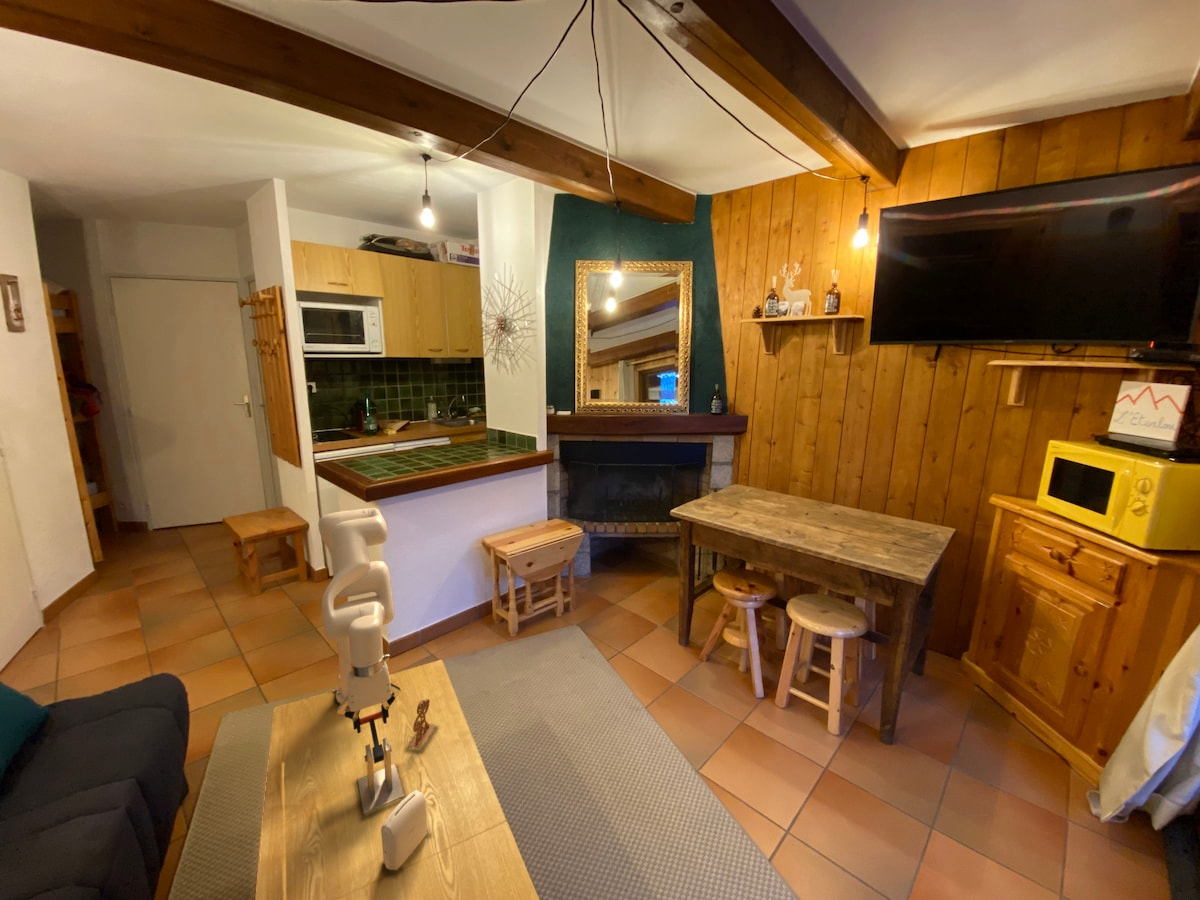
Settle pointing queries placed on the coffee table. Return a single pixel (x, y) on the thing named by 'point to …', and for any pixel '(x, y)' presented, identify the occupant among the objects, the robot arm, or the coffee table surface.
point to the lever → (374, 736)
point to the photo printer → (404, 830)
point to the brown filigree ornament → (422, 732)
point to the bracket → (379, 781)
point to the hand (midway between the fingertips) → (371, 724)
